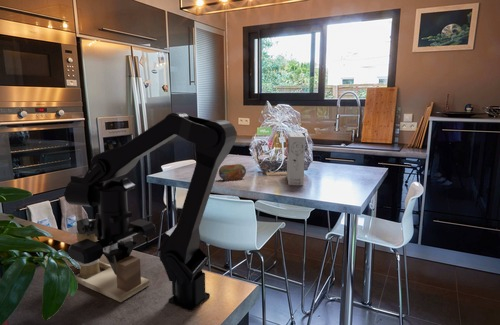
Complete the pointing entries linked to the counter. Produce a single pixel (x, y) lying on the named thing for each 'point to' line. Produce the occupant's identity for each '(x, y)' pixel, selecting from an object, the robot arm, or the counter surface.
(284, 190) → the counter surface
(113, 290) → the wooden stand
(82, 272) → the sprinkles bottle
